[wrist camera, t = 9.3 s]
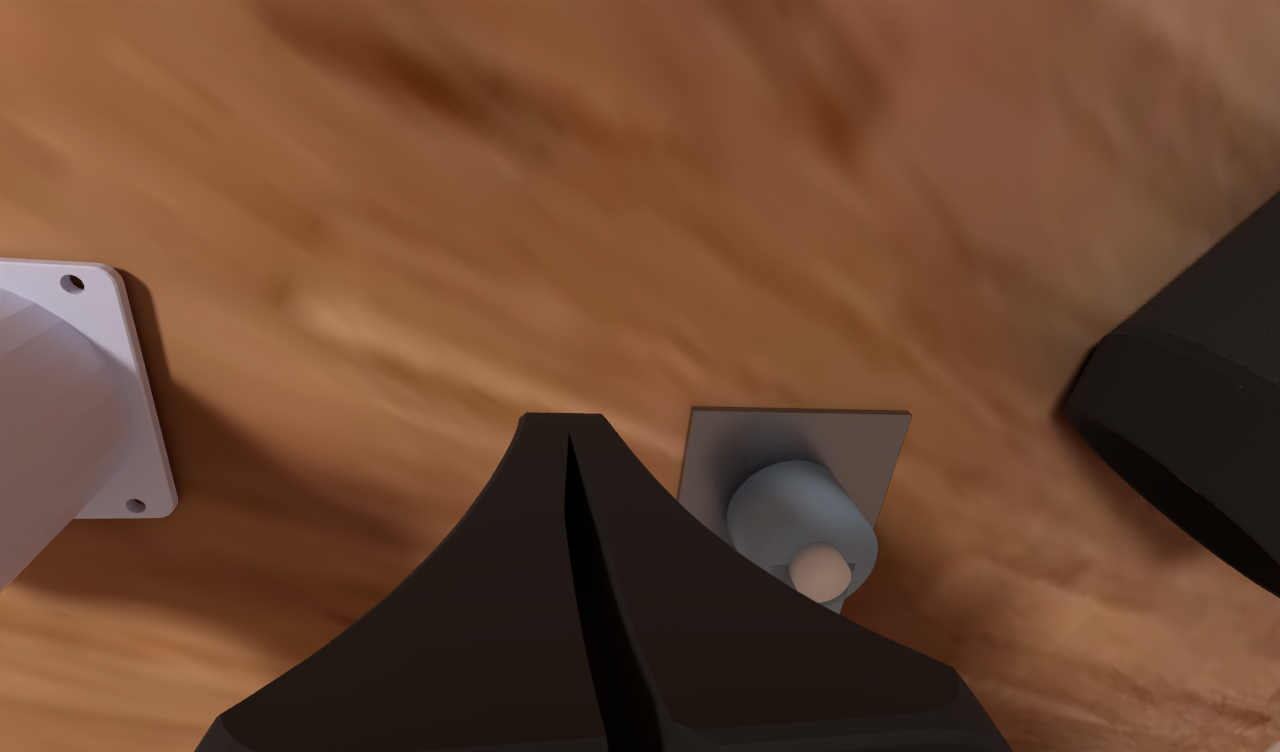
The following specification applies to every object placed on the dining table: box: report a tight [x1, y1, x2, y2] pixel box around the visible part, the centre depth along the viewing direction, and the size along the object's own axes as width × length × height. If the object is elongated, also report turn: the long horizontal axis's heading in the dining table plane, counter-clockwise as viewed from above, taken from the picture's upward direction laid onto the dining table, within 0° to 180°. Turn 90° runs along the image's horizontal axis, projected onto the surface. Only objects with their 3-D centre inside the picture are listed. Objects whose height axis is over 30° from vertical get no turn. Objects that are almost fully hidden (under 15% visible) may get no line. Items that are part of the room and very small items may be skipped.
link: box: [726, 460, 878, 614], centre depth 25 cm, size 16×4×4 cm, turn 174°
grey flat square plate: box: [677, 406, 912, 550], centre depth 24 cm, size 8×8×1 cm
